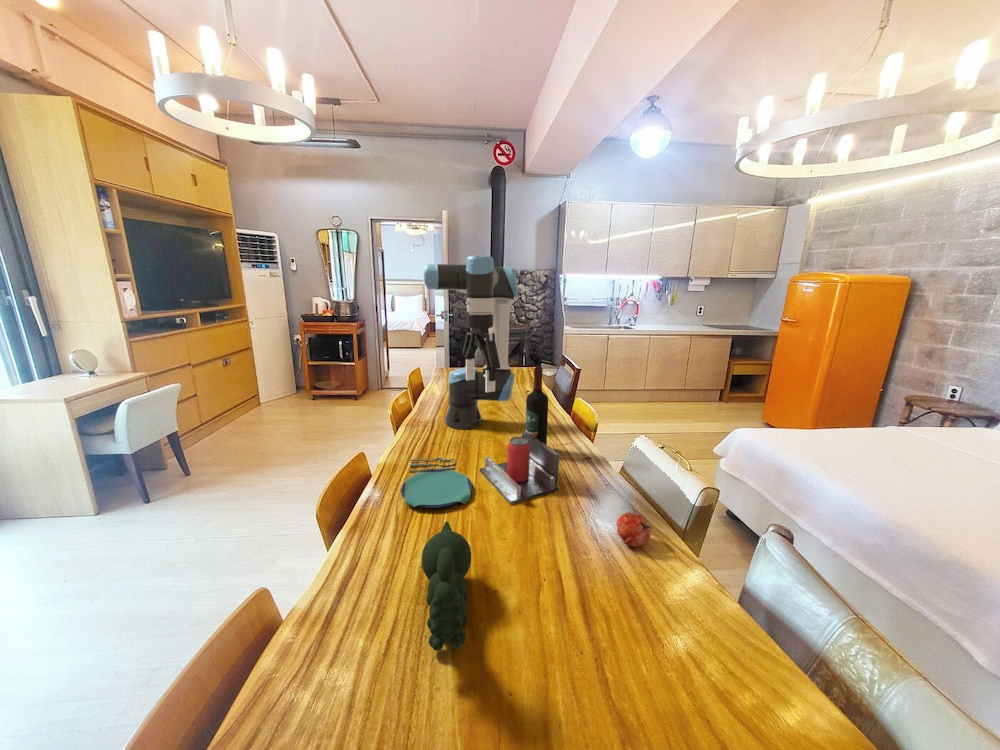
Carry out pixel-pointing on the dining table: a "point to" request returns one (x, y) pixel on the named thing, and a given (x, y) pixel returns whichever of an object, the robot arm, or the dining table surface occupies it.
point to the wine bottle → (537, 409)
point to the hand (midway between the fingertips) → (479, 385)
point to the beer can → (518, 459)
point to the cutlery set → (436, 486)
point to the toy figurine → (446, 586)
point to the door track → (540, 474)
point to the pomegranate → (633, 529)
